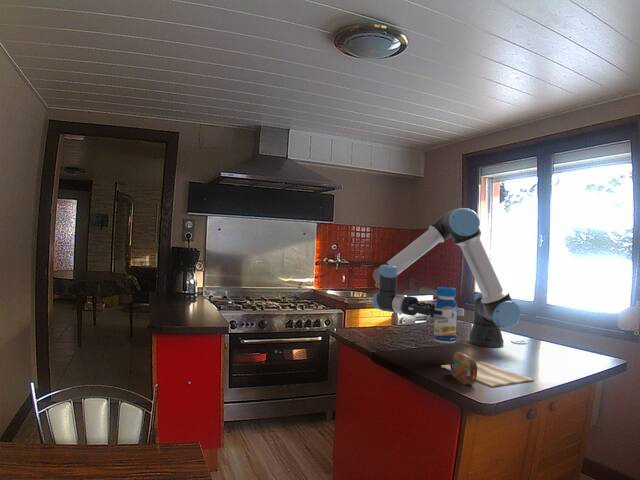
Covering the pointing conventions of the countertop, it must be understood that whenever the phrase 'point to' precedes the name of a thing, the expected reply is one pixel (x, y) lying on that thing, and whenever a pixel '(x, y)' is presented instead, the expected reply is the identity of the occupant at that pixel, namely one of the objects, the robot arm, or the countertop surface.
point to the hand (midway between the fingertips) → (457, 313)
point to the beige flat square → (495, 375)
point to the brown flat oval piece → (463, 368)
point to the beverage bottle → (443, 325)
